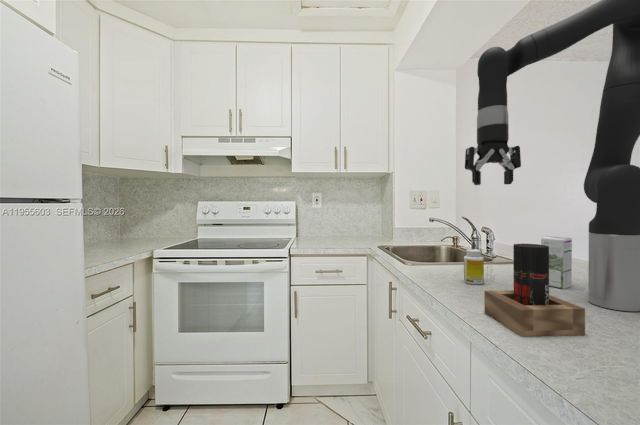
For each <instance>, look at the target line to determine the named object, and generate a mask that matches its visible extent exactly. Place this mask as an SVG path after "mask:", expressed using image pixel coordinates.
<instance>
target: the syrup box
mask: <svg viewBox="0 0 640 425" xmlns="http://www.w3.org/2000/svg"><path fill="white" fill-rule="evenodd" d="M540 245H546V246H549V287H552V288H557V289H562V290H565V289H568V288H571V287H572V286H573V276H572V274H573V273H572V272H573V271H572V270H573V269H572V266H573V265H572V264H573V260H572V259H573V257H572V255H573V254H572V252H573V239H572V237H561V236H549V235H548V236H547V235H546V236H543V237H541V239H540Z"/></svg>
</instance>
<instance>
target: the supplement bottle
mask: <svg viewBox="0 0 640 425" xmlns="http://www.w3.org/2000/svg"><path fill="white" fill-rule="evenodd" d="M484 265H485V258H484V257H483V256H482V251H481V250H479V249H467V250H466V255H464V256H463V281H464V283H466V284H470V285H482V284H484V282H485V271H484V270H485V266H484Z"/></svg>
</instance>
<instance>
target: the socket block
mask: <svg viewBox="0 0 640 425" xmlns="http://www.w3.org/2000/svg"><path fill="white" fill-rule="evenodd" d="M483 293H484V294H483V295H484V298H483V300H484V314H486V315H487V316H489V317H490V318H492V319H493V320H495V321H497V322H498V323H500V324H501V325H503V326H504V327H506V328H508V329H509V330H510V331H513V332H514V333H515V334H517V335H518V336H521V337H550V336H551V335H563V336H585V335H586V308H585V307H582V306H579V305H576V304H574V303H571V302H569V301H566V300H564V299H562V298H558V297H557V296H553V295H551V294H549V305H523V304H521V303H518V302H516V301H514V289H513V290H510V289H509V290H484V292H483ZM551 337H552V336H551Z"/></svg>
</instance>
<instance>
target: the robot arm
mask: <svg viewBox="0 0 640 425" xmlns="http://www.w3.org/2000/svg"><path fill="white" fill-rule="evenodd" d="M609 26H612V45H611V53H610V54H611V55H610V58H609V62H608V67H607V71H606V75H605V81H604V85H603V89H602V94H601V100H600V105H599V113H598V119H597V127H596V134H595V139H594V147H593V152H592V155H591V158H590V162H589V165H588V169H587V172H586V175H585V178H584V182H583V192H584V195H585V196H586V197H587V199H589V201H591V202H593V203H595V204H596V211H595V212H596V213H595V215H594V216H593V218H592V219H591V220H590V221H589V222H588V280H587V281H588V282H587V283H588V285H587V286H588V289H587V290H588V291H587V292H588V299H587V300H588V302H589V303H590V304H593V305H594V306H599V307H602V308H604V309H605V308H606V309H610V310H616V311H623V312H640V166H636V165H634V164H631V160H632V156H633V155H632V154H633V151H634V147H635V146H636V144H637V141H638V139H639V137H640V0H599V1H598V2H596V3H593V4H591V5H590V6H588V7H586V8H584V9H582V10H581V11H579V12H576V13H575V14H573V15H572V14H571V16H569V17H566V18H564V19H563V20H560V21H558V22H556V23H553V24H551V25H549V26H547V27H544V28H542V29H540V30H537V31H536V32H533V33H531V34H529V35H527V36H524V37H523V38H521V39H519V40H518V41H516V43H515V44H514V45H513V46H512V47H511V48H509V49H507V50H505V49H504V48H503V47H500V46H492V47H489V48H488V49H486V50H485V51H484V52H482V54H480V57H479V59H478V60H477V61H478V62H477V78H478V96H477V116H476V144H477V147H474V146H469V147H467V148H466V149H465V154H464V155H465V156H464V169H465V170H468V171H471V178H472V179H471V181H472V184H473V185H474V186H480V185H481V182H482V181H481V180H482V177H481V176H482V174H481V172H482V171H480V170H481V169H482V167H483V166H484V165H485V164H490V163H491V164H498V165H499V166H501V167H502V169H503V170H504V171H503V184H504V185H511V184H512V183H513V181H514V170H515V169H516V170H517V169H518V168H521V167H522V160H521V158H522V156H521V146H520V145H516V146H511V147H509V145H508V142H509V135H510V134H509V133H510V132H509V110H508V89H507V88H508V87H507V84H508V83H507V82H508V77H509V76H510V75H513V74H515V73H517V72H519V71H520V70H521V69H523V68H525V67H527V66H530V65H532V64H534V63H537V62H540V61H543V60H545V59H548V58H550V57H553V56H555V55H557V54H559V53H561V52H563V51H564V50H567V49H568V48H570V47H572V46H573V45H575V44H577V43H579V42H581V41H582V40H584V39H586V38H588V37H589V36H592V35H593V34H594V33H596V32H598V31H600V30H602V29H604V28H607V27H609ZM476 154H477V156H478V158H477V159H476V160H475V155H476ZM508 155H509V156H508Z"/></svg>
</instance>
